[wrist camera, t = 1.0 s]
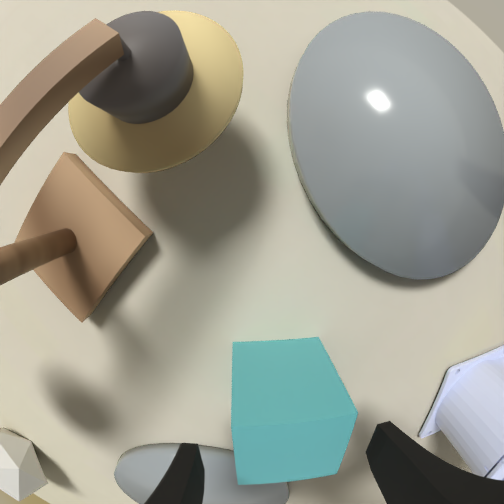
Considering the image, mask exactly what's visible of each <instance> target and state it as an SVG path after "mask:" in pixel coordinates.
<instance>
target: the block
mask: <svg viewBox="0 0 504 504" xmlns="http://www.w3.org/2000/svg"><path fill="white" fill-rule="evenodd" d="M357 415H358V412H357V410H356V408H355V406H354V404H353V402H352V400H351V398H350V396H349V394H348V392H347V390H346V388H345V386H344V384H343V383H342V381H341V379H340V377H339V375H338V373H337V371H336V369H335V367H334V365H333V363H332V362H331V360H330V358H329V356H328V354H327V352H326V350H325V348H324V346H323V345H322V343H321V341H320V339H319V337H314V338H302V339H289V340H273V341H251V342H233V356H232V407H231V429H232V439H233V448H234V457H235V465H236V473H237V481H238V485H248V484H267V483H279V482H289V481H297V480H304V479H311V478H317V477H323V476H328V475H333V474H337V472H338V469H339V467H340V464H341V462H342V459H343V456H344V454H345V451H346V448H347V445H348V442H349V440H350V437H351V434H352V431H353V428H354V424H355V421H356V418H357Z"/></svg>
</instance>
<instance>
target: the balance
mask: <svg viewBox="0 0 504 504" xmlns="http://www.w3.org/2000/svg"><path fill="white" fill-rule="evenodd" d="M242 85H243V64H242V58H241V55H240V51H239V49H238V47H237V45H236V43H235V41H234V40H233V38H232V37H231V35H230V34H229V33H228V32H227V31H226V30H225V29H224V28H223V27H222V26H220V25H219V24H218V23H216V22H215V21H213V20H211V19H209V18H207V17H205V16H202V15H199V14H196V13H192V12H186V11H161V12H153V11H141V12H135V13H130V14H127V15H124V16H122V17H119V18H117V19H115V20H113V21H111V22H110V23H108V24H107V25H106V24H104V23H102V22H101V21H99V20H98V19H96V18H95V19H94V20H92V21H91V22H89V23H88V24H87V25H85V26H84V27H82V28H81V29H80V30H78V31H77V32H76V33H74V34H73V35H72V36H71V37H69V38H68V39H67V40H65V41H64V42H63V43H62V44H61V45H59V46H58V47H57V48H56V49H55V50H53V51H52V52H51V53H50V54H49V55H48V56H47V57H46V58H44V59H43V60H42V61H41V62H40V63H39V64H38V65H37V66H36V67H35V68H34V69H33V70H32V71H31V72H30V73H29V74H28V75H27V76H26V77H25V78H24V79H23V80H22V81H21V82H20V83H19V84H18V85H17V86H16V87H15V88H14V90H13V91H12V92H11V93H10V94H9V95H8V96H7V98H6V99H5V100H4V101H3V102H2V103H1V105H0V185H1V183H2V182H3V180H4V179H5V177H6V176H7V174H8V173H9V171H10V170H11V169H12V167H13V166H14V164H15V163H16V162H17V160H18V159H19V158H20V156H21V155H22V154H23V152H24V151H25V150H26V149H27V147H28V146H29V145H30V144H31V142H32V141H33V140H34V139H35V138H36V136H37V135H38V134H39V133H40V132H41V131H42V129H43V128H44V127H45V126H46V125H47V124H48V123H49V122H50V120H51V119H52V118H53V117H54V116H55V115H56V114H57V113H58V112H59V111H60V110H61V109H62V108H63V107H64V106H65V105H66V104H67V103H68V102H69V106H68V112H69V121H70V126H71V129H72V132H73V135H74V137H75V139H76V141H77V143H78V144H79V146H80V147H81V148H82V150H83V151H84V152H85V153H86V154H87V155H88V156H89V157H90V158H92V159H93V160H95V161H96V162H98V163H99V164H101V165H104V166H106V167H108V168H111V169H115V170H119V171H125V172H134V173H150V172H156V171H162V170H165V169H169V168H172V167H175V166H177V165H180V164H182V163H184V162H186V161H188V160H190V159H192V158H193V157H195V156H197V155H198V154H199V153H201V152H202V151H204V150H205V149H206V148H207V147H208V146H210V145H211V144H212V143H213V142H214V141H215V140H216V139H217V138H218V137H219V136H220V135H221V133H222V132H223V131H224V130H225V128H226V127H227V125H228V124H229V123H230V121H231V119H232V117H233V115H234V113H235V112H236V109H237V107H238V104H239V101H240V97H241V93H242ZM152 234H153V232H152V231H151V230H150V229H149V228H148V227H147V226H146V225H145V224H144V223H143V222H142V221H141V220H140V219H139V218H138V217H137V216H136V215H135V214H134V213H133V212H131V211H130V210H129V209H128V208H127V207H126V206H125V205H124V204H123V203H122V202H121V201H120V200H119V199H118V198H117V197H116V196H115V195H114V194H113V193H112V192H111V190H110V189H109V188H108V187H107V186H106V185H105V184H104V183H103V182H102V181H101V180H100V179H99V178H98V177H97V176H96V175H95V174H94V173H93V172H92V171H91V170H90V169H89V168H88V167H87V166H86V165H85V163H84V162H83V161H82V160H81V159H80V158H79V157H78V156H77V155H76V154H71V153H65V152H63V154H62V155H61V157H60V158H59V160H58V162H57V163H56V165H55V166H54V168H53V169H52V171H51V173H50V174H49V176H48V178H47V179H46V181H45V183H44V184H43V186H42V188H41V190H40V192H39V193H38V195H37V197H36V199H35V201H34V203H33V205H32V206H31V208H30V210H29V212H28V214H27V216H26V218H25V221H24V223H23V225H22V227H21V229H20V231H19V234H18V236H17V238H16V240H15V243H13V244H10V245H7V246H3V247H0V285H2V284H4V283H6V282H8V281H10V280H12V279H14V278H16V277H18V276H20V275H22V274H24V273H26V272H29V271H31V270H34V271H35V272H36V274H37V275H38V276H39V277H40V278H41V279H42V281H43V282H44V283H45V284H46V285H47V286H48V288H49V289H50V290H51V291H52V292H53V293H54V294H55V295H56V296H57V298H58V299H59V300H60V301H61V302H62V303H63V304H64V305H65V306H66V307H67V308H68V309H69V310H70V311H71V312H72V313H73V314H74V315H75V316H76V317H77V318H78V319H79V320H80V321H81V322H83V321H84V320H85V319H86V318H88V317H89V316H90V315H91V314H92V313H93V311H94V310H95V308H96V307H97V305H98V304H99V303H100V301H101V300H102V298H103V297H104V296H105V294H106V293H107V291H108V290H109V289H110V287H111V286H112V285H113V283H114V282H115V281H116V279H117V278H118V277H119V275H120V274H121V273H122V271H123V270H124V269H125V267H126V266H127V265H128V263H129V262H130V261H131V260H132V258H133V257H134V256H135V255H136V253H137V252H138V251H139V249H140V248H141V247H142V246H143V245H144V243H145V242H146V241H147V240H148V238H149V237H150V236H151V235H152Z"/></svg>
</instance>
